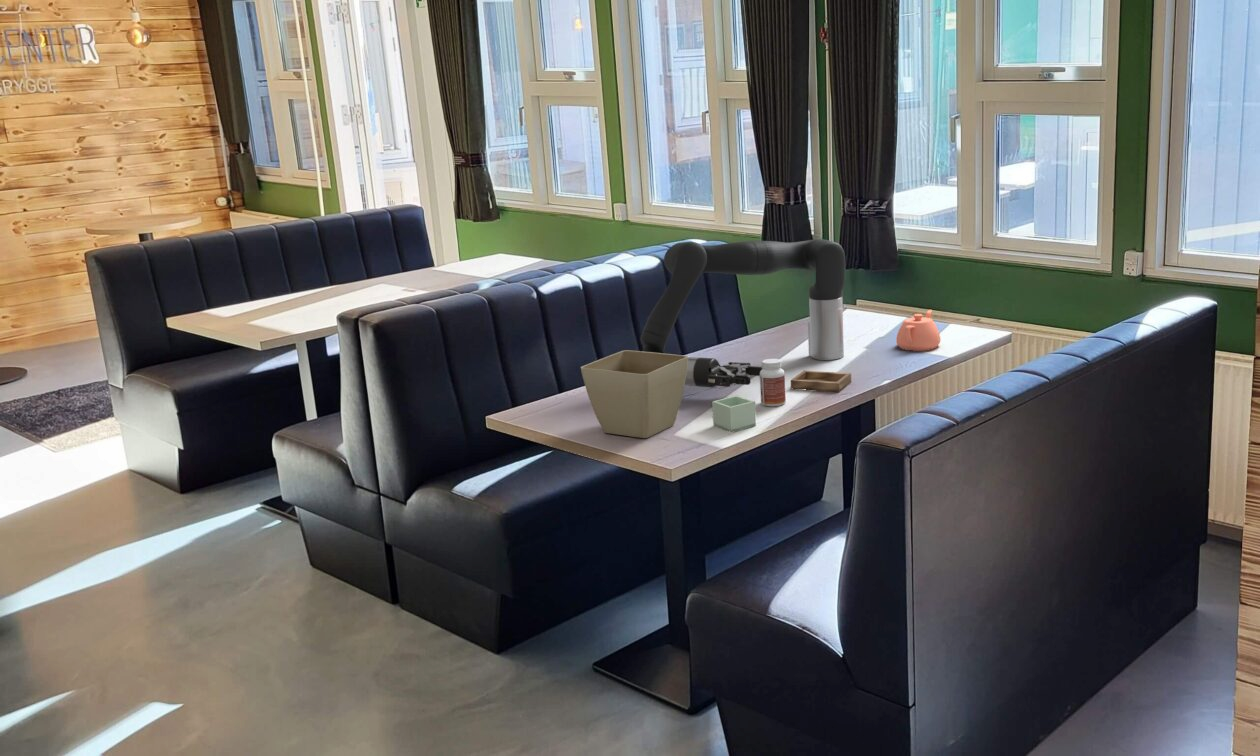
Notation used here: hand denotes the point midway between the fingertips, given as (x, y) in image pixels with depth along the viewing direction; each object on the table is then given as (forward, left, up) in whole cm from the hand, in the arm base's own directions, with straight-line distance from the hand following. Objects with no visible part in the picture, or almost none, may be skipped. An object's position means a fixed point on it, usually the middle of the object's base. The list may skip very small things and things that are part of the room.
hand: (756, 375), depth 308 cm
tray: (0, +21, -7) cm, 22 cm away
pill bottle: (+4, +2, -7) cm, 8 cm away
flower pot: (-2, -34, -7) cm, 35 cm away
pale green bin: (+12, -16, -7) cm, 21 cm away
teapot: (-12, +68, -7) cm, 69 cm away
